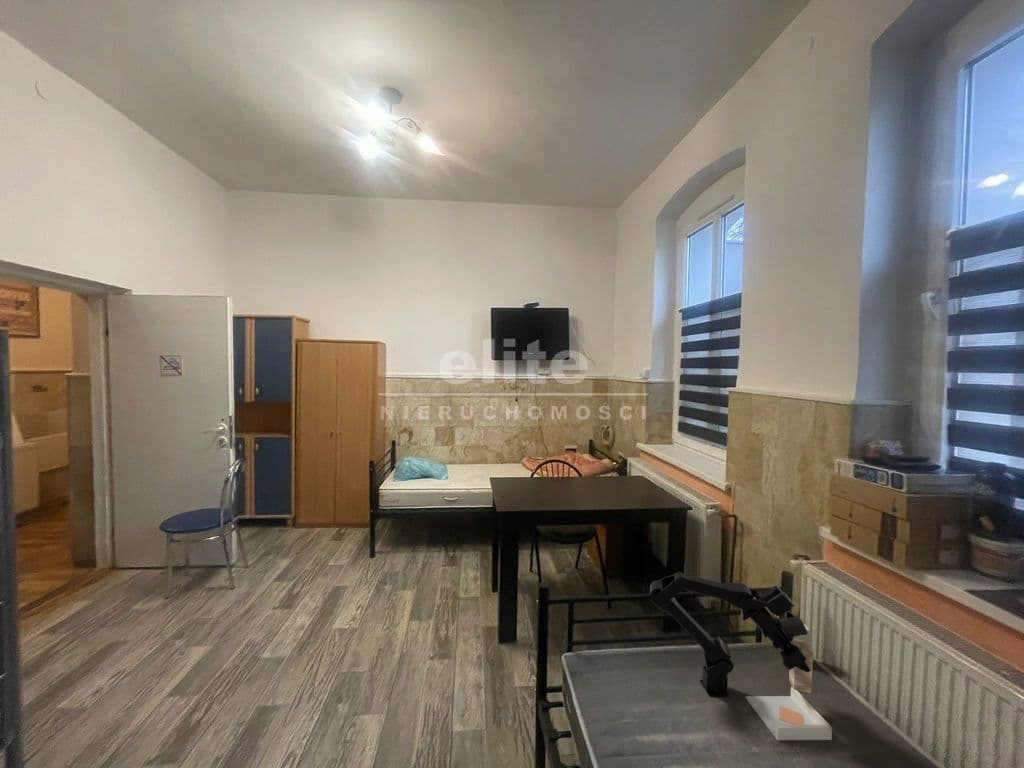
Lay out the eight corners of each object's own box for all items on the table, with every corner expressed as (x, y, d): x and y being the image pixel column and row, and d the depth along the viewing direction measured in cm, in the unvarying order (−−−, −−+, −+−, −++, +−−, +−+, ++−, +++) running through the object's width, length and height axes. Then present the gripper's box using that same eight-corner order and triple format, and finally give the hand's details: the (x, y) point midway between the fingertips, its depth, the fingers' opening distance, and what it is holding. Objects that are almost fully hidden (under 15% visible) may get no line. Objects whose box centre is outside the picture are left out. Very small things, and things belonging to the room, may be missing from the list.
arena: (777, 740, 116) (778, 727, 116) (745, 698, 131) (745, 687, 131) (831, 739, 116) (832, 727, 116) (793, 698, 131) (793, 687, 131)
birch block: (793, 689, 126) (795, 647, 125) (788, 679, 130) (790, 638, 130) (811, 693, 124) (813, 650, 124) (805, 682, 129) (807, 641, 128)
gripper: (799, 625, 119) (843, 673, 116) (779, 593, 137) (817, 633, 133) (766, 646, 122) (808, 693, 118) (751, 611, 139) (787, 652, 136)
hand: (806, 666), depth 127 cm, fingers closed on birch block, 4 cm apart
